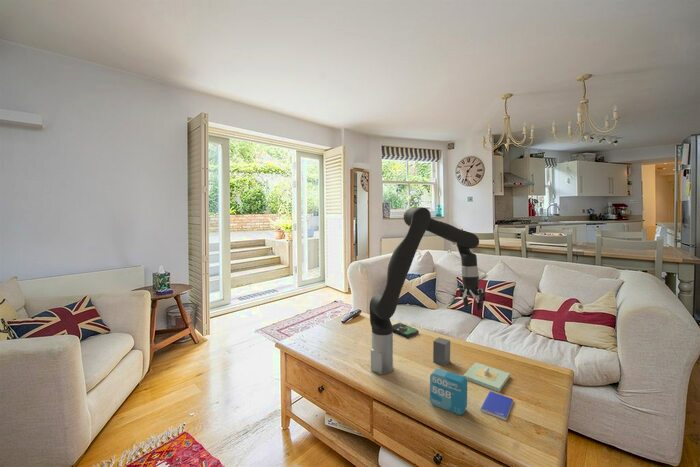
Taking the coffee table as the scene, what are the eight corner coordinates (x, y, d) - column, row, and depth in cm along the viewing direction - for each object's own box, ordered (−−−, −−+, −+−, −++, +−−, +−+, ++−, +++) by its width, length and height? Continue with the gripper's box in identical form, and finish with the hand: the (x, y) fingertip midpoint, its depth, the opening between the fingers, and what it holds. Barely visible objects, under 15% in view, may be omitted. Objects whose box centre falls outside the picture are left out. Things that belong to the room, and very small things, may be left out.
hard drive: (506, 417, 100) (513, 398, 110) (480, 407, 105) (489, 390, 115) (506, 422, 100) (513, 402, 110) (480, 412, 105) (489, 394, 115)
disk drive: (387, 331, 176) (407, 339, 164) (387, 326, 176) (407, 334, 164) (399, 326, 182) (419, 334, 171) (399, 322, 182) (419, 329, 170)
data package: (429, 403, 109) (429, 372, 108) (434, 397, 113) (434, 366, 112) (463, 416, 102) (464, 383, 101) (467, 409, 106) (467, 377, 105)
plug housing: (444, 366, 135) (444, 344, 134) (433, 361, 139) (433, 341, 138) (450, 361, 139) (450, 340, 138) (438, 357, 143) (439, 337, 142)
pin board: (499, 392, 115) (499, 383, 115) (463, 378, 125) (463, 370, 125) (509, 376, 126) (509, 368, 125) (475, 365, 135) (475, 357, 135)
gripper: (453, 274, 150) (456, 306, 150) (475, 277, 137) (478, 312, 137) (465, 272, 153) (467, 303, 153) (487, 275, 140) (490, 310, 140)
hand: (472, 308), depth 145 cm, fingers open, 8 cm apart
